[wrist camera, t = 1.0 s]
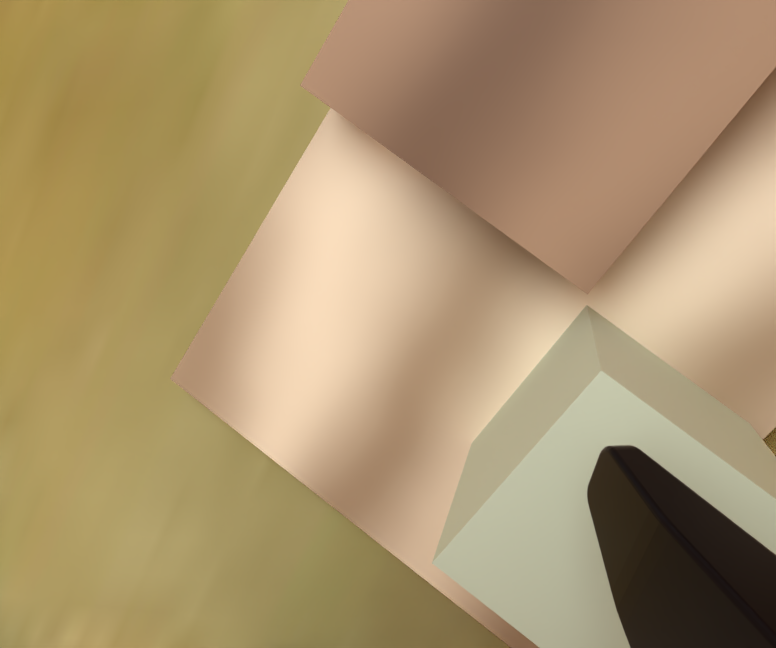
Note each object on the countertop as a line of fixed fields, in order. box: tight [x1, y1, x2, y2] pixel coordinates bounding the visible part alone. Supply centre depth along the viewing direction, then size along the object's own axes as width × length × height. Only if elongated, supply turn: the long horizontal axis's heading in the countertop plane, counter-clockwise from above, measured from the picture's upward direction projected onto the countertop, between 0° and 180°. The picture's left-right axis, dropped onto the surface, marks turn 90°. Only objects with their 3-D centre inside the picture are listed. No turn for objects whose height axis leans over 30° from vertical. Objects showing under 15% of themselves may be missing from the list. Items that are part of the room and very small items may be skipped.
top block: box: [432, 305, 776, 648], centre depth 14 cm, size 5×5×6 cm
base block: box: [300, 0, 776, 294], centre depth 14 cm, size 8×8×2 cm
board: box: [170, 67, 776, 648], centre depth 17 cm, size 14×22×1 cm, turn 146°
